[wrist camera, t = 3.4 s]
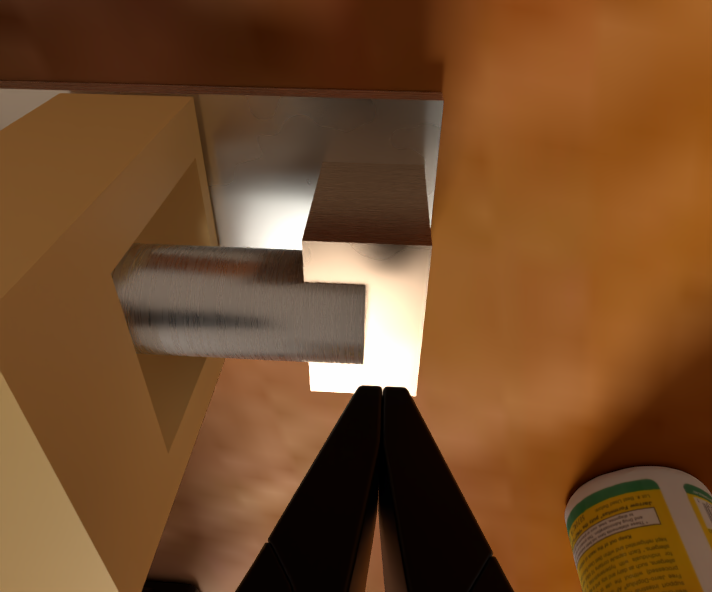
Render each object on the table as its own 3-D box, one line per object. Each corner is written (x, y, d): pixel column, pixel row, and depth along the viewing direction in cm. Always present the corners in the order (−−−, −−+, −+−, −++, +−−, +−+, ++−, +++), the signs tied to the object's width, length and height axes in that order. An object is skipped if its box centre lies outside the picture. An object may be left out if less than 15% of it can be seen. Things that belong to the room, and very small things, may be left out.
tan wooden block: (192, 96, 12) (-24, 326, 6) (233, 336, 16) (132, 617, 10) (60, 92, 12) (-291, 313, 6) (134, 331, 16) (-27, 605, 10)
